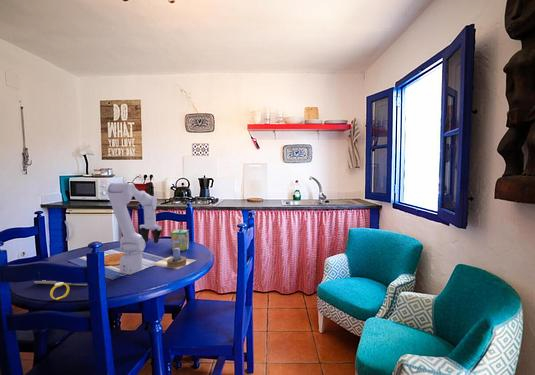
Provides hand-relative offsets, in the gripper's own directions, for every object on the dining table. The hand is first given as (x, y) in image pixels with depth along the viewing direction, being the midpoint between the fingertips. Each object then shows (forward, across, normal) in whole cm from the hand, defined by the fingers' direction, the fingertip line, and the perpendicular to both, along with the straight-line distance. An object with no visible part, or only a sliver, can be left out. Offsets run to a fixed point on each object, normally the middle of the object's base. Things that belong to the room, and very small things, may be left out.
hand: (151, 242), depth 148 cm
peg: (+9, -20, +2) cm, 22 cm away
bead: (+9, -20, +2) cm, 22 cm away
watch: (+10, -4, +48) cm, 49 cm away
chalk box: (+10, -2, -20) cm, 22 cm away
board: (+9, -17, +1) cm, 19 cm away
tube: (+10, +9, +39) cm, 41 cm away
